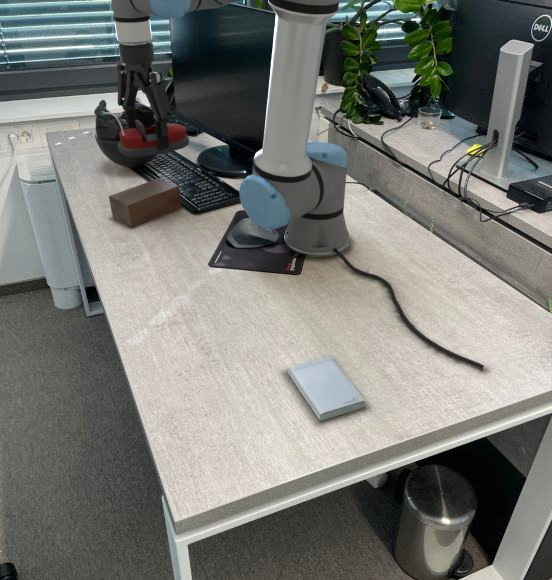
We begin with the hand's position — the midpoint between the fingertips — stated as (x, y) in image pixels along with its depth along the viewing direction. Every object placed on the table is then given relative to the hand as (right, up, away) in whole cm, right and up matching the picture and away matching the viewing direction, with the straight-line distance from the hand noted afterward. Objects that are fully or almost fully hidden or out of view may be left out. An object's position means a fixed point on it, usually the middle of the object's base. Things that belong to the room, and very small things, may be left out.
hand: (149, 142), depth 140 cm
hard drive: (+39, -57, -43) cm, 81 cm away
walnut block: (-3, -15, +10) cm, 18 cm away
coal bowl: (-12, +6, +37) cm, 40 cm away
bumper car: (0, -1, +1) cm, 2 cm away
